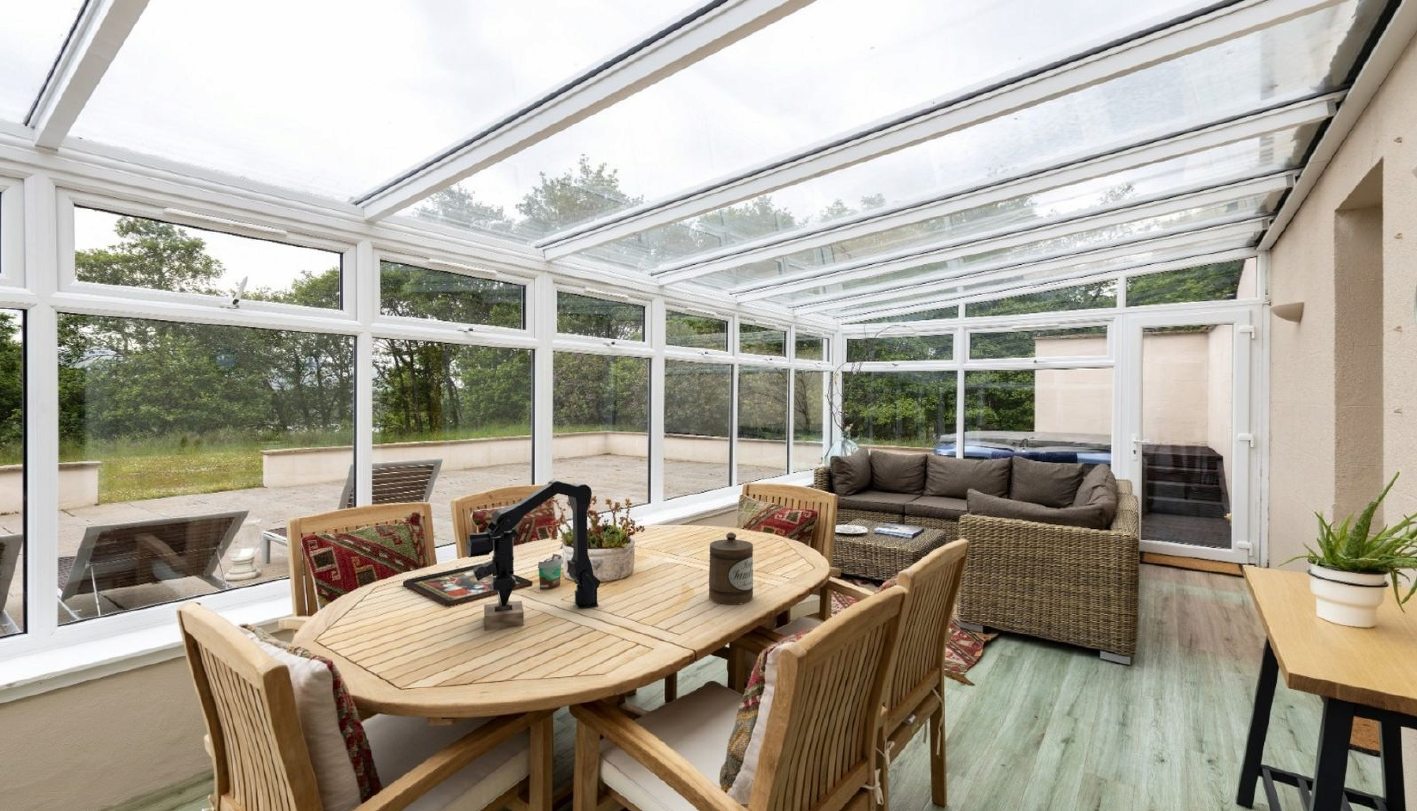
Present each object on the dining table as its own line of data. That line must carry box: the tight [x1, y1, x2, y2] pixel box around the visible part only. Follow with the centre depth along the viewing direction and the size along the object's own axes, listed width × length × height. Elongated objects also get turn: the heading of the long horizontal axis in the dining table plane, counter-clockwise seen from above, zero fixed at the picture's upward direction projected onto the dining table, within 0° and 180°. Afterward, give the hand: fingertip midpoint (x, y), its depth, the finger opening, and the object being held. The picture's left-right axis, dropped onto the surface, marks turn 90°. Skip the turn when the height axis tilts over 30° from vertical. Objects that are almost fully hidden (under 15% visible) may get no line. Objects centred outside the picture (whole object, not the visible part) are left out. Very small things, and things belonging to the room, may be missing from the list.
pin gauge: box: [497, 591, 510, 612], centre depth 188 cm, size 3×3×8 cm
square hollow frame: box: [483, 600, 525, 631], centre depth 188 cm, size 11×11×4 cm
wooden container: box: [708, 532, 754, 605], centre depth 211 cm, size 15×15×22 cm
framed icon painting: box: [402, 563, 533, 608], centre depth 224 cm, size 38×35×3 cm
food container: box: [537, 553, 564, 591], centre depth 224 cm, size 12×6×10 cm, turn 168°
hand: (503, 604), depth 188 cm, fingers closed on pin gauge, 3 cm apart
